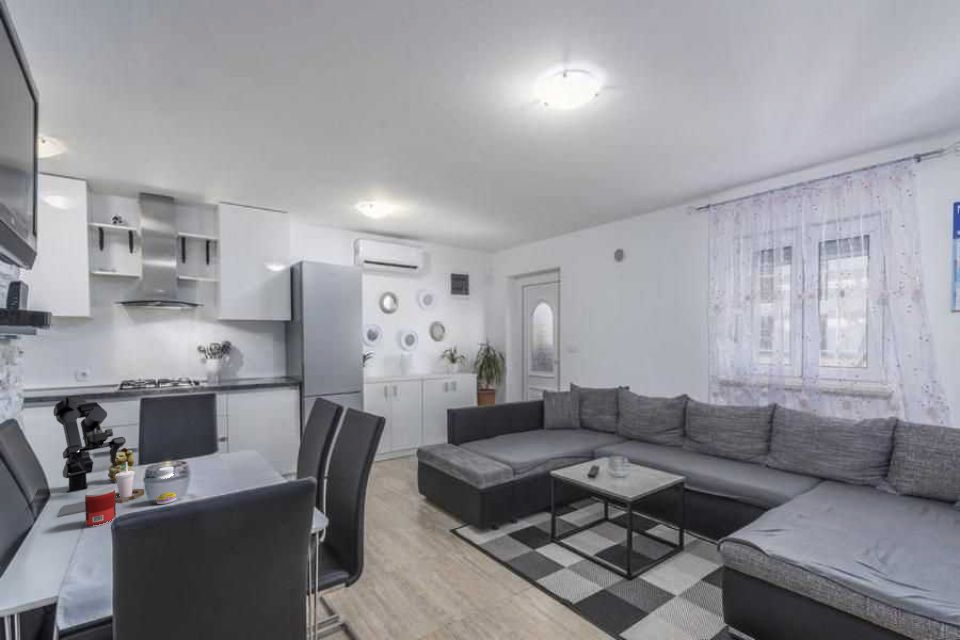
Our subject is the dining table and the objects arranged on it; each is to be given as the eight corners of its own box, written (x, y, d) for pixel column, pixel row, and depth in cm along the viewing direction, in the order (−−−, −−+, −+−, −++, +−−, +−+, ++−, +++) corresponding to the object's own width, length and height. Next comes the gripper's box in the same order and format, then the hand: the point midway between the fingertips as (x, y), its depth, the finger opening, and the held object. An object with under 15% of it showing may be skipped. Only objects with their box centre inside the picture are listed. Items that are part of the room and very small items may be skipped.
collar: (107, 495, 179) (107, 493, 179) (144, 488, 187) (144, 485, 187) (105, 506, 168) (105, 503, 168) (144, 498, 175) (144, 495, 175)
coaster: (63, 507, 169) (63, 505, 169) (103, 498, 176) (103, 497, 176) (58, 517, 159) (58, 515, 159) (101, 507, 167) (101, 506, 167)
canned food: (121, 518, 155) (120, 487, 156) (95, 528, 148) (94, 495, 148) (106, 516, 158) (106, 485, 158) (80, 526, 150) (79, 494, 151)
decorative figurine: (106, 485, 193) (105, 451, 193) (110, 480, 200) (110, 447, 200) (134, 480, 198) (133, 447, 198) (137, 475, 205) (136, 443, 205)
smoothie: (139, 494, 179) (138, 460, 179) (121, 500, 173) (120, 465, 173) (130, 493, 181) (129, 459, 182) (112, 498, 176) (111, 464, 176)
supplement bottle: (166, 505, 166) (165, 471, 166) (151, 504, 167) (150, 470, 168) (181, 498, 173) (180, 465, 173) (167, 497, 174) (166, 465, 174)
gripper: (67, 428, 169) (74, 466, 164) (126, 418, 184) (134, 453, 180) (59, 439, 174) (66, 476, 170) (117, 429, 190) (125, 463, 185)
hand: (99, 466), depth 176 cm, fingers open, 9 cm apart
